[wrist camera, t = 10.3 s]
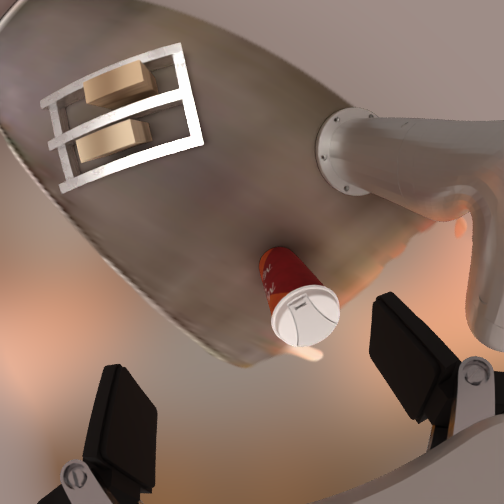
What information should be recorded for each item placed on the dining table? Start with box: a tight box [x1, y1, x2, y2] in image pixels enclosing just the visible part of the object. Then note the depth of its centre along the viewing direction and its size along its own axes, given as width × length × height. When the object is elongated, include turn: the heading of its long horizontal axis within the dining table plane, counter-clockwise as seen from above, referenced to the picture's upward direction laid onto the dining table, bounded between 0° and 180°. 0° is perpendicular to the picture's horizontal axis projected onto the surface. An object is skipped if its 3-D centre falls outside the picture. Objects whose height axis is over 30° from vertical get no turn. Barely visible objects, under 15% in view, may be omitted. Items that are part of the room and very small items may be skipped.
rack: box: [40, 43, 204, 194], centre depth 27 cm, size 18×12×5 cm
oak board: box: [83, 60, 159, 110], centre depth 24 cm, size 6×2×9 cm, turn 102°
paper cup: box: [259, 247, 340, 347], centre depth 34 cm, size 8×8×14 cm
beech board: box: [76, 119, 153, 163], centre depth 26 cm, size 6×2×9 cm, turn 101°
